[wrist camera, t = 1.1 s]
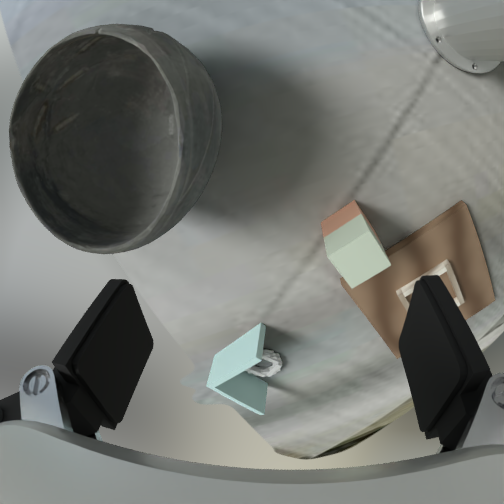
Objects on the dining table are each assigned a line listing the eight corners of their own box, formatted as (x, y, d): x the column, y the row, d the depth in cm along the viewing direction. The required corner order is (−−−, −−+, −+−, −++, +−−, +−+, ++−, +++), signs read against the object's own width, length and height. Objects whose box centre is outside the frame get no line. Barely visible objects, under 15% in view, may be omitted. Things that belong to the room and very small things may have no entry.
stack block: (354, 199, 35) (369, 230, 28) (374, 230, 36) (391, 265, 30) (320, 222, 37) (327, 256, 30) (342, 250, 39) (351, 288, 32)
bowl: (216, 14, 25) (165, -27, 13) (256, 187, 36) (235, 253, 23) (67, 76, 30) (-19, 91, 17) (110, 216, 40) (47, 276, 27)
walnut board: (461, 200, 32) (470, 208, 30) (491, 294, 39) (498, 304, 37) (340, 278, 41) (342, 290, 38) (395, 352, 47) (398, 364, 45)
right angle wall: (264, 382, 55) (260, 415, 49) (215, 352, 52) (206, 386, 46) (312, 356, 50) (313, 391, 44) (261, 320, 47) (255, 357, 40)
